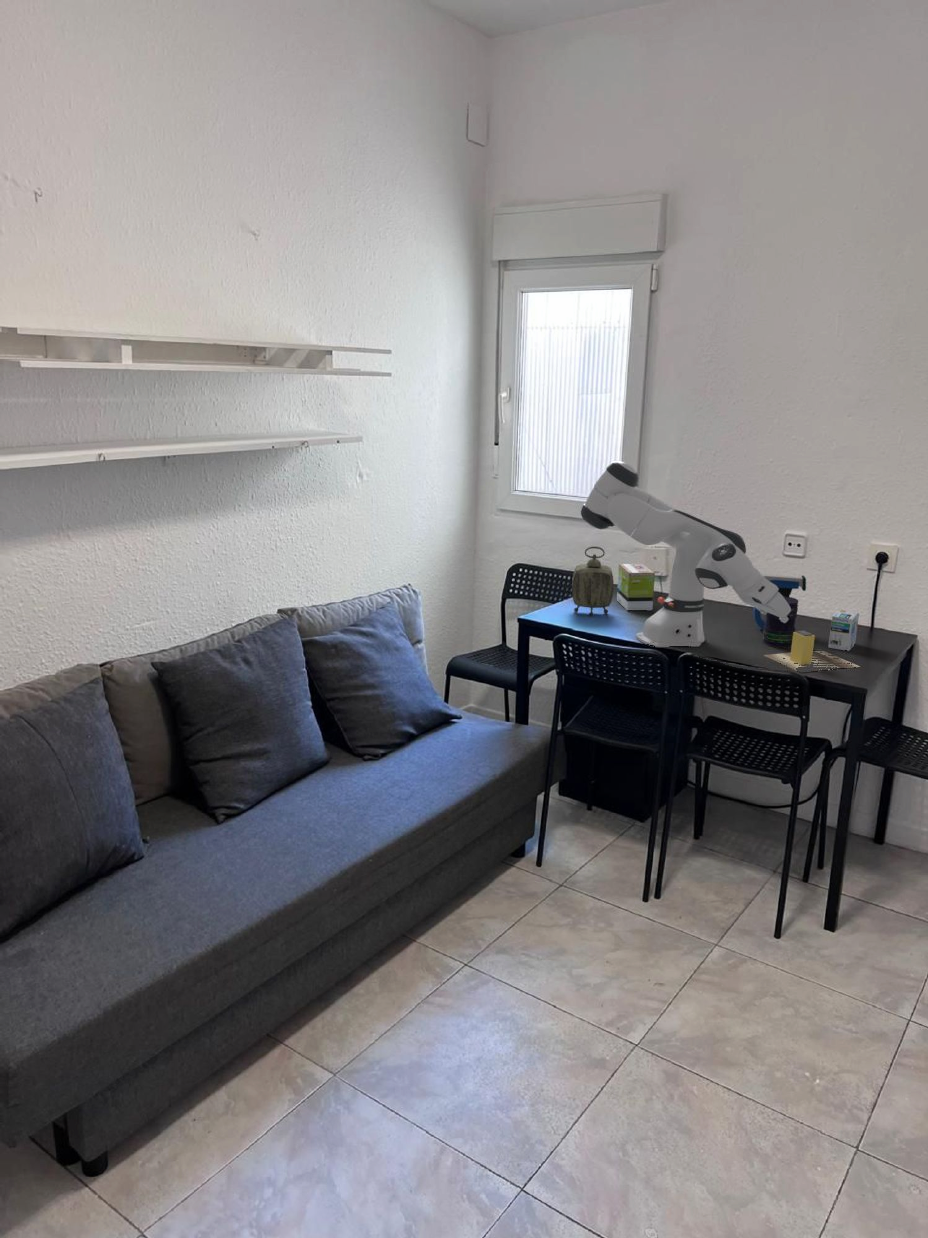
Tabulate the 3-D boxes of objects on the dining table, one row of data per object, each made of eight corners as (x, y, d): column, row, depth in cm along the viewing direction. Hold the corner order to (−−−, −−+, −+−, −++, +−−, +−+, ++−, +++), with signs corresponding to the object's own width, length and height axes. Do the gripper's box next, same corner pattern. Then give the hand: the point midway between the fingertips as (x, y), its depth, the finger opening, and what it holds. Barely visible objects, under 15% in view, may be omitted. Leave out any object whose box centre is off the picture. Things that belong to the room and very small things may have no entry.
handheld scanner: (801, 634, 319) (807, 577, 315) (752, 630, 322) (757, 574, 318) (799, 631, 324) (805, 575, 319) (750, 627, 327) (756, 572, 322)
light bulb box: (849, 651, 302) (853, 619, 299) (827, 648, 305) (831, 616, 302) (855, 643, 310) (859, 612, 308) (834, 640, 314) (838, 609, 311)
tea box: (615, 601, 359) (618, 563, 355) (641, 600, 360) (644, 563, 356) (626, 611, 345) (629, 571, 341) (653, 611, 346) (656, 571, 342)
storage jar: (799, 646, 306) (805, 602, 302) (773, 648, 303) (778, 603, 299) (781, 638, 315) (786, 594, 311) (756, 640, 312) (760, 596, 308)
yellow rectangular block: (800, 664, 287) (804, 635, 284) (789, 660, 291) (793, 630, 289) (811, 663, 288) (815, 634, 285) (800, 659, 292) (804, 630, 290)
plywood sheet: (800, 673, 279) (801, 673, 279) (763, 655, 295) (763, 655, 295) (860, 667, 286) (860, 666, 286) (820, 649, 303) (820, 649, 303)
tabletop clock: (610, 612, 342) (615, 545, 335) (611, 619, 333) (616, 550, 326) (570, 610, 343) (574, 543, 336) (570, 617, 334) (574, 548, 328)
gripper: (723, 586, 285) (747, 615, 291) (765, 603, 267) (789, 633, 273) (737, 571, 286) (760, 600, 291) (780, 586, 267) (804, 617, 273)
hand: (775, 616), depth 282 cm, fingers open, 8 cm apart
